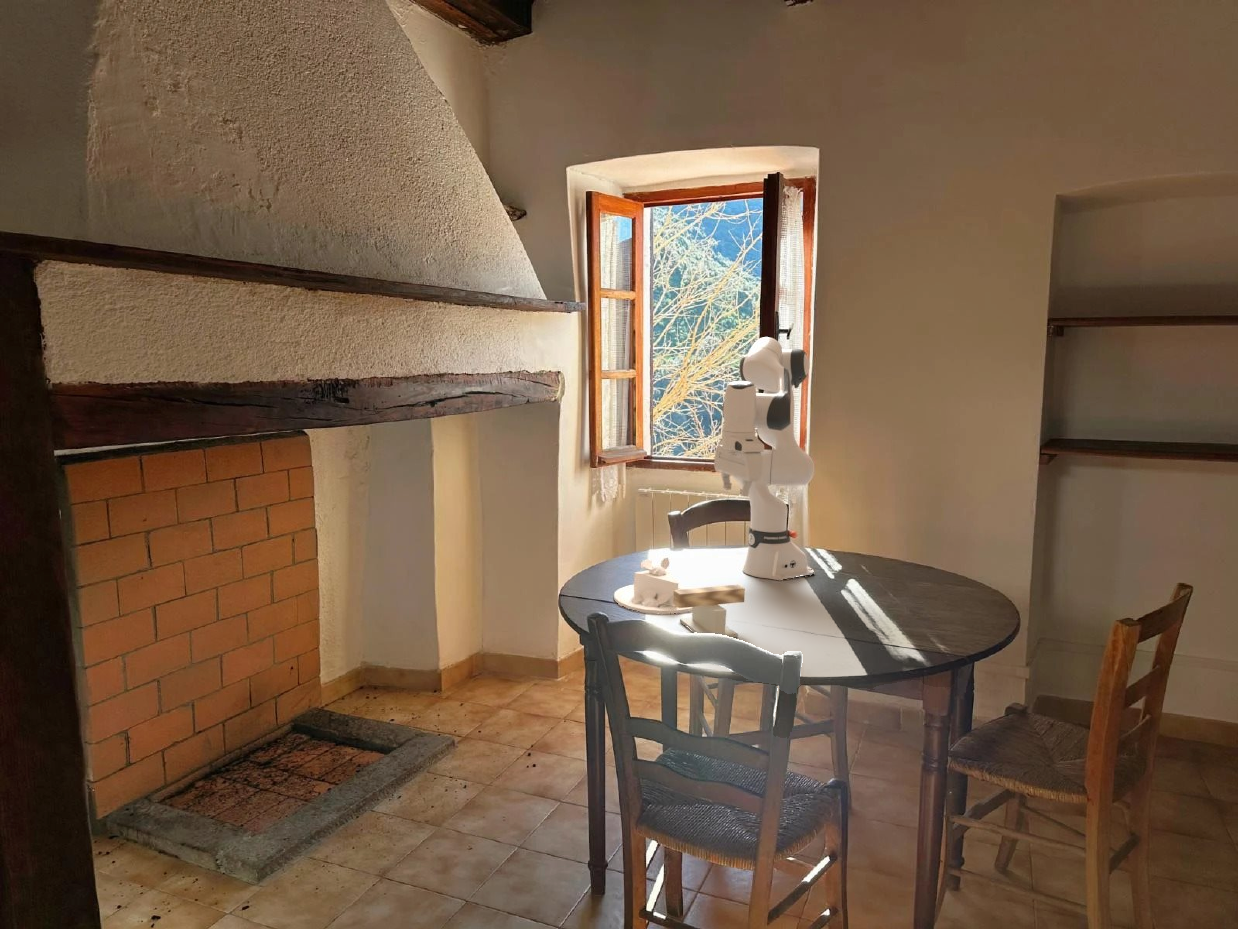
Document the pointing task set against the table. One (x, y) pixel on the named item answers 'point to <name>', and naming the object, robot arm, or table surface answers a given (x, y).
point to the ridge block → (709, 621)
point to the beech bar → (708, 596)
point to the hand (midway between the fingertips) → (735, 492)
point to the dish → (651, 590)
